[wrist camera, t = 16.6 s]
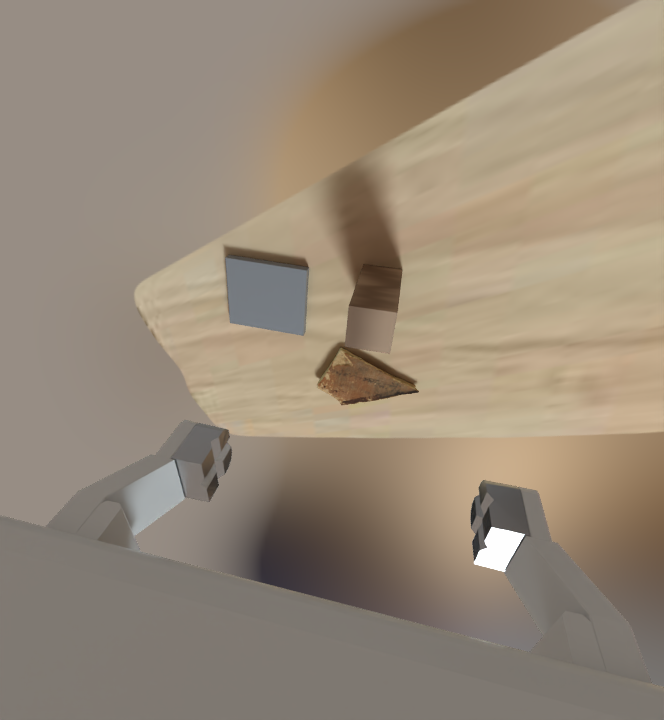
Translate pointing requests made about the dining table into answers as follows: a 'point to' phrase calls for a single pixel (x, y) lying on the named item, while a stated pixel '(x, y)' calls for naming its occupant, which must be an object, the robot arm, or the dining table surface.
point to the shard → (360, 381)
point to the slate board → (267, 294)
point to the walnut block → (374, 309)
